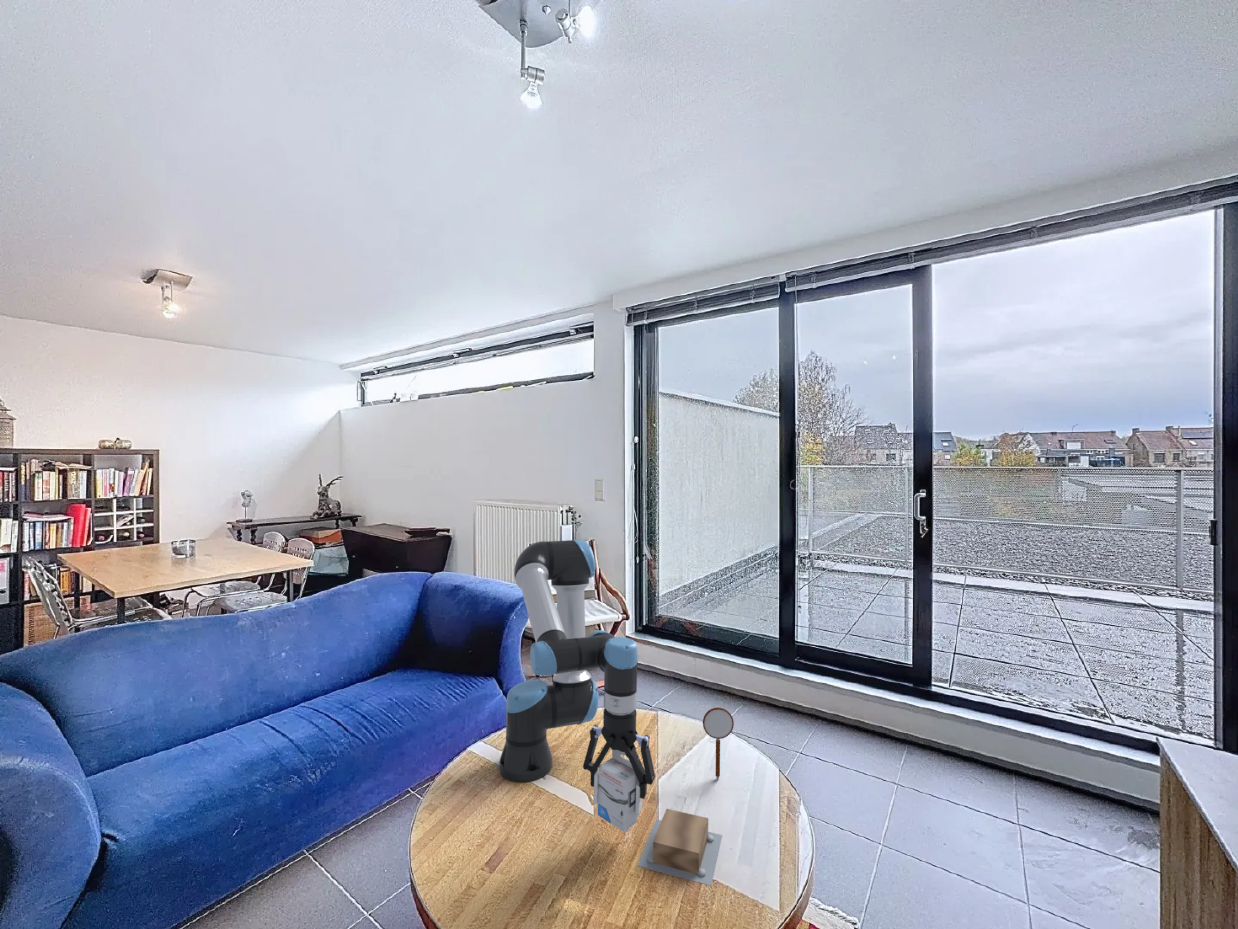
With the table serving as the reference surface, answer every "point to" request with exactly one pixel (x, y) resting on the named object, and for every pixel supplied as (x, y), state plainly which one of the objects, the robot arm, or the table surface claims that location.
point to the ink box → (617, 792)
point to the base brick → (681, 841)
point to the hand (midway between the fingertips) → (617, 805)
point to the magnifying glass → (718, 729)
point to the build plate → (703, 875)
